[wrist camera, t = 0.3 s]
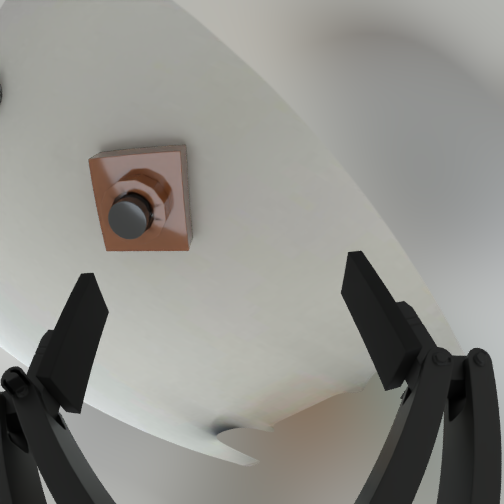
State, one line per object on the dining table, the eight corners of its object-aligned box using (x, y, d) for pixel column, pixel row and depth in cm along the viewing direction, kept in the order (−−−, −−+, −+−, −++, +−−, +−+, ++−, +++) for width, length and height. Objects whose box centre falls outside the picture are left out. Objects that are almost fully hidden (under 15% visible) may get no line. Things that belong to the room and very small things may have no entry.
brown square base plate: (99, 152, 30) (79, 164, 25) (186, 144, 30) (176, 155, 26) (114, 238, 35) (100, 260, 31) (192, 237, 36) (186, 261, 31)
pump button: (112, 194, 28) (104, 202, 26) (149, 192, 28) (143, 200, 26) (118, 230, 30) (112, 240, 28) (154, 229, 30) (149, 239, 28)
